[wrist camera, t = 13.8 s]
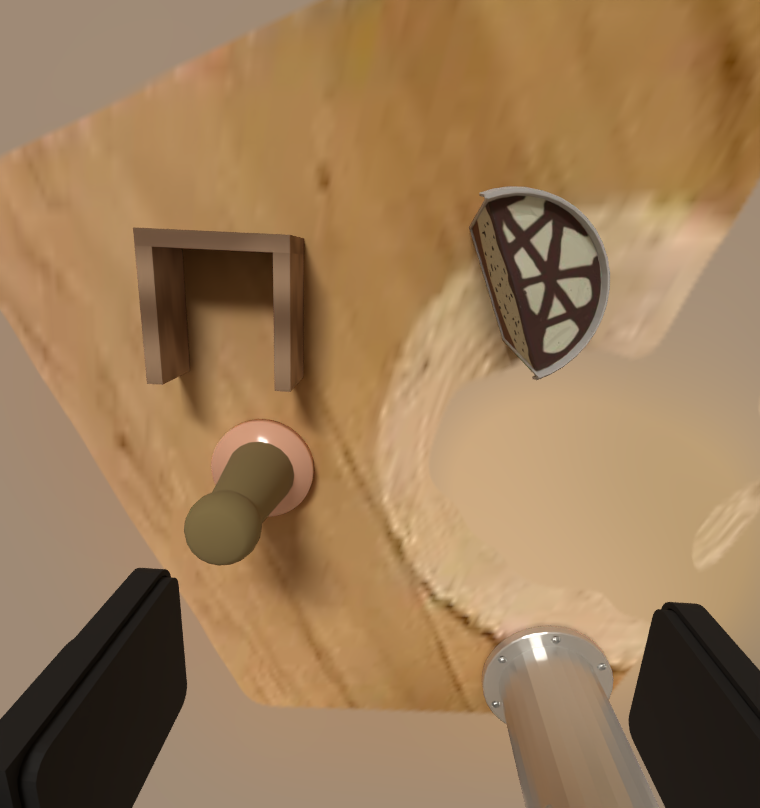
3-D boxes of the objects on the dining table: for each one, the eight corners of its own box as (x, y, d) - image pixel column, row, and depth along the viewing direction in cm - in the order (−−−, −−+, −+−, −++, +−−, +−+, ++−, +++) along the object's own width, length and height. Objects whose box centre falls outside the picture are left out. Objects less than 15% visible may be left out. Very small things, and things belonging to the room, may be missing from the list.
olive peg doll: (302, 496, 44) (271, 570, 33) (239, 510, 44) (188, 587, 34) (282, 434, 42) (241, 491, 31) (217, 450, 43) (156, 510, 32)
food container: (581, 332, 40) (639, 354, 30) (507, 357, 40) (541, 386, 31) (542, 177, 36) (592, 145, 27) (463, 207, 37) (484, 187, 28)
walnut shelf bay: (303, 376, 42) (290, 391, 37) (176, 369, 42) (147, 383, 37) (303, 238, 38) (289, 234, 34) (166, 232, 39) (133, 227, 34)
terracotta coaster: (313, 514, 45) (311, 519, 44) (217, 508, 45) (213, 513, 44) (314, 422, 43) (312, 425, 42) (213, 416, 43) (208, 419, 42)
